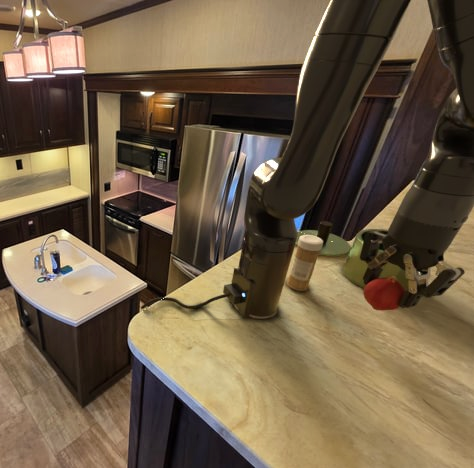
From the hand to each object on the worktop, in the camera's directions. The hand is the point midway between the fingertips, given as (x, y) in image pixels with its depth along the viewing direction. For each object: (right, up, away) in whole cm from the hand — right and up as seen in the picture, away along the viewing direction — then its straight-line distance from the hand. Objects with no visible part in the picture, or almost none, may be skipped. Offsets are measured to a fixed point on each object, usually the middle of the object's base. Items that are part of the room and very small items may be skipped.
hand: (385, 294), depth 54 cm
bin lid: (+11, +9, +32) cm, 35 cm away
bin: (+14, 0, +17) cm, 22 cm away
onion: (0, -3, +2) cm, 4 cm away
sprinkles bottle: (-6, -2, +17) cm, 18 cm away
